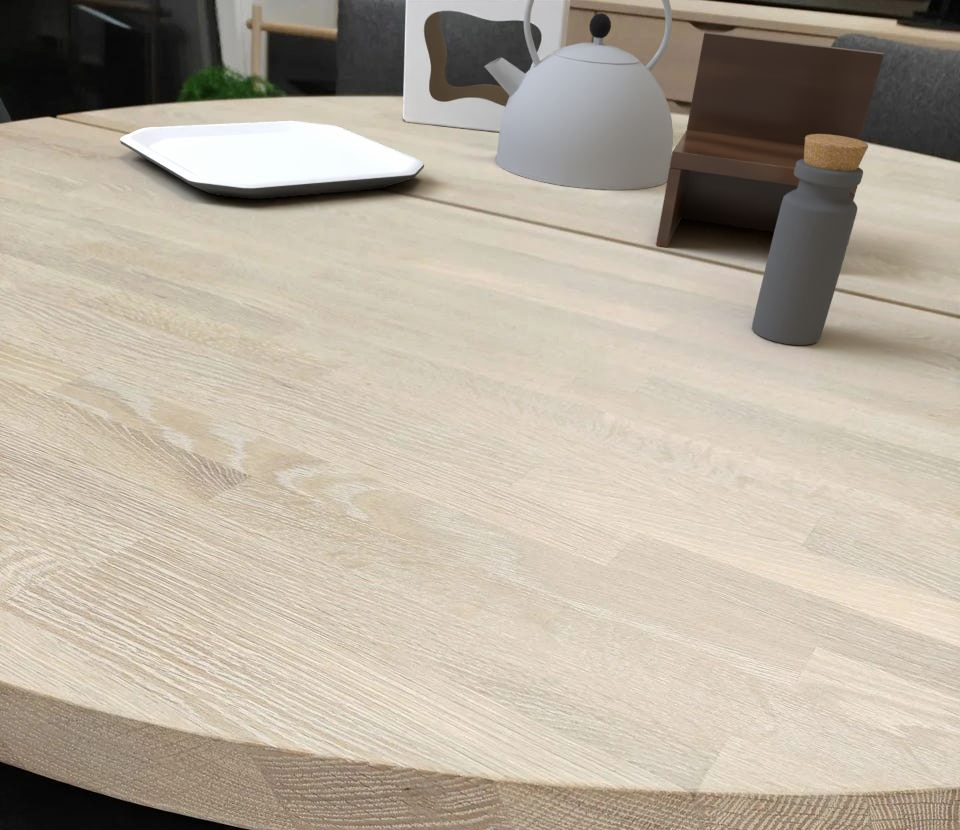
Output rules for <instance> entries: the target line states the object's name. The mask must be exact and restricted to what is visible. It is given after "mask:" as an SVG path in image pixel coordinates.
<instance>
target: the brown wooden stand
mask: <svg viewBox="0 0 960 830" xmlns="http://www.w3.org/2000/svg"><path fill="white" fill-rule="evenodd" d="M702 37H703V38H702V43H701V49H700V54H699V60H698V65H697V70H696V75H695V81H694V86H693V92H692V98H691V104H690V109H689V116H688V120H687V125H686V130H685V131H684V133H683V135H682V136H681V138H680V139H679V141H678V142H677V144H676V145H675V147H674V148H673V149H672V157H671V162H670V168H669V174H668V179H667V182H666V186H665V191H664V197H663V202H662V203H663V204H662V209H661V214H660V220H659V226H658V231H657V236H656V241H655V245H656V246H657V247H663V248H668V246H669V244H670V242H671V240H672V238H673V237H674V234H675V232H676V230H677V227H678V226H679V223H680V222H681V219H682V220H689V221H697V222H703V223H709V224H717V225H722V226H731V227H737V228H744V229H750V230H756V231H762V232H769V233H770V232H771V233H774V231H775V227H776V223H777V219H778V215H779V211H780V207H781V204H782V200H783V197H784V196H785V195H786V194H787V193H789V192H791V191H793V190H795V189H797V188H798V185H799V178H797V177H796V176H795V175H794V170H795V166H796V163H797V161H799V160H802V159H804V149H805V137H806V136H807V135H811V134H830V135H838V136H845V137H850V138H854V139H858V140H862V135H863V132H864V129H865V124H866V120H867V118H868V114H869V111H870V107H871V103H872V99H873V97H874V92H875V89H876V85H877V82H878V78H879V74H880V72H881V67H882V64H883V61H884V57H885V53H884V52H880V51H871V50H870V51H869V50H862V49H854V48H845V47H836V46H828V45H821V44H812V43H803V42H802V43H801V42H794V41H786V40H785V41H784V40H777V39H768V38H759V37H750V36H743V35H735V34H734V35H733V34H726V33H719V32H717V33H716V32H709V31H705V32H704V33H703V36H702ZM858 186H859V185H857V186H852V187H851V190H850V194H849V197H850V198H851V199H852V200H853V201H855V197H856V194H857V193H856V192H857V189H858Z"/></svg>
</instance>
